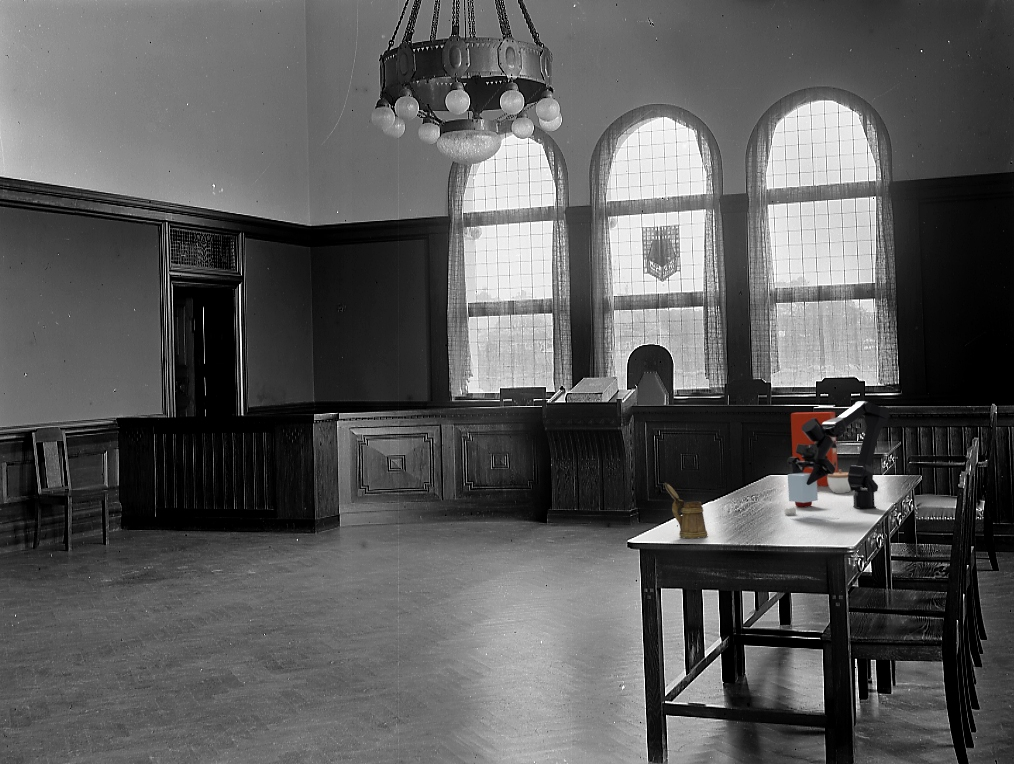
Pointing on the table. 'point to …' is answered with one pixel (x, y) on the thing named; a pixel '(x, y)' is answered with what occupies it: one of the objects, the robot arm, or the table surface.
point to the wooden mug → (688, 516)
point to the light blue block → (801, 488)
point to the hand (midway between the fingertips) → (799, 483)
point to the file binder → (801, 438)
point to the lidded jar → (838, 482)
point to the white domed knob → (790, 510)
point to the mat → (814, 518)
